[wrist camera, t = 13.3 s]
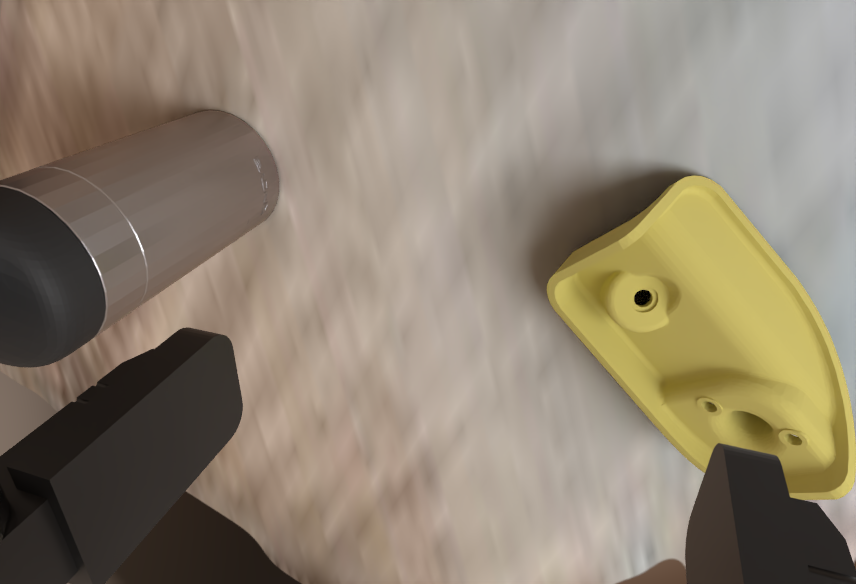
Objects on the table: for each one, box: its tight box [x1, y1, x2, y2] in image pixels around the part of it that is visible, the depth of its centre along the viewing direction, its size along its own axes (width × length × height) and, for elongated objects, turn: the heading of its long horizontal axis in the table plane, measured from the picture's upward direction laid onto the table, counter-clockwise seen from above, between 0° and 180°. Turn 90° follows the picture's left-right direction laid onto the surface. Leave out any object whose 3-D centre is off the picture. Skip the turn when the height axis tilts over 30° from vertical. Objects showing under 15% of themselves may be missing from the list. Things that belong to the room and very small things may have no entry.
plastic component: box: [547, 176, 856, 500], centre depth 38 cm, size 20×7×10 cm
